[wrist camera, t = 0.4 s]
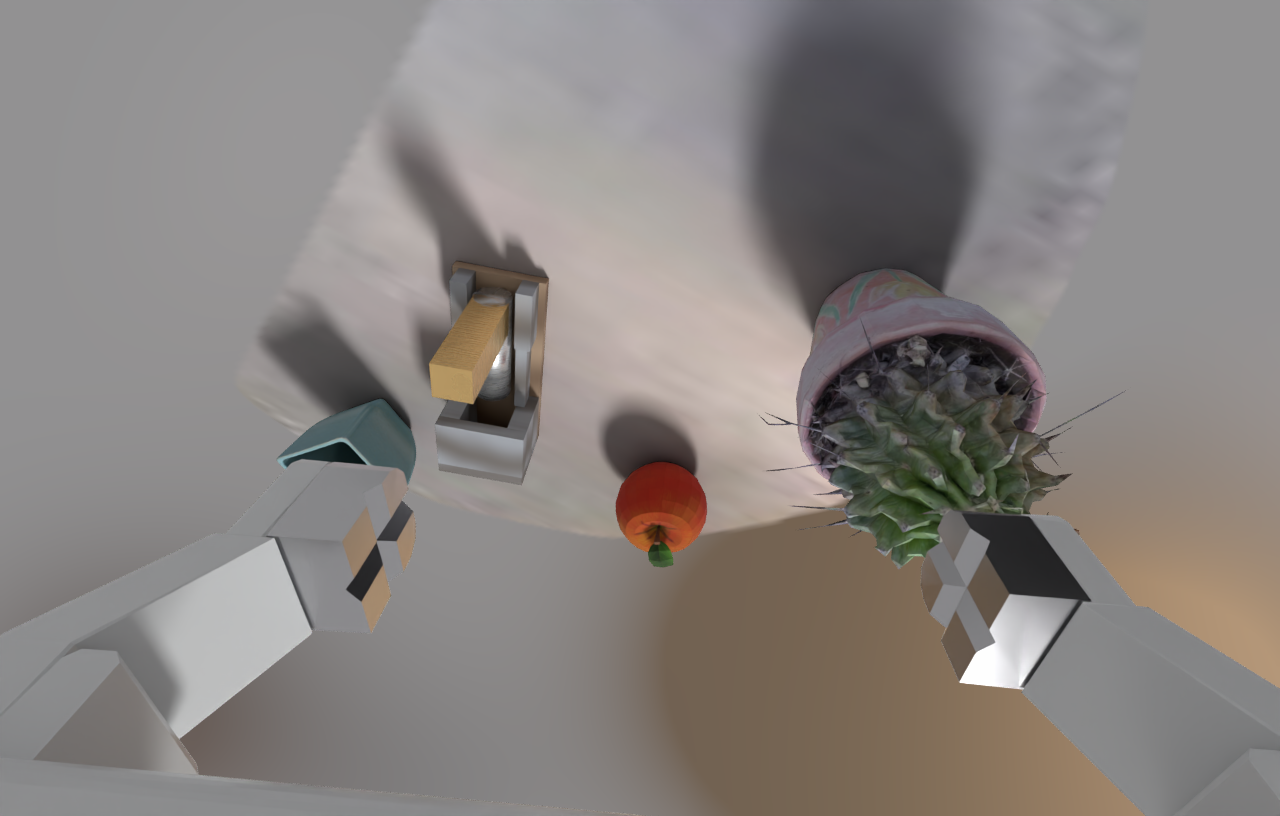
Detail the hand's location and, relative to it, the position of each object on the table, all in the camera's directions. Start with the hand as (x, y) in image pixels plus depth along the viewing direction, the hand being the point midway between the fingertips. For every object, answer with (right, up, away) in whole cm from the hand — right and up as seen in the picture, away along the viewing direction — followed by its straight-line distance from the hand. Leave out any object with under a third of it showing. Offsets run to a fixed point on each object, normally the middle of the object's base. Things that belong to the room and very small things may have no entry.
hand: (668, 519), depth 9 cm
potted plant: (+19, +9, +41) cm, 46 cm away
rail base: (-13, +7, +46) cm, 49 cm away
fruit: (+2, -6, +55) cm, 55 cm away
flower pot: (-28, +1, +54) cm, 61 cm away
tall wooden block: (-13, +8, +44) cm, 46 cm away
